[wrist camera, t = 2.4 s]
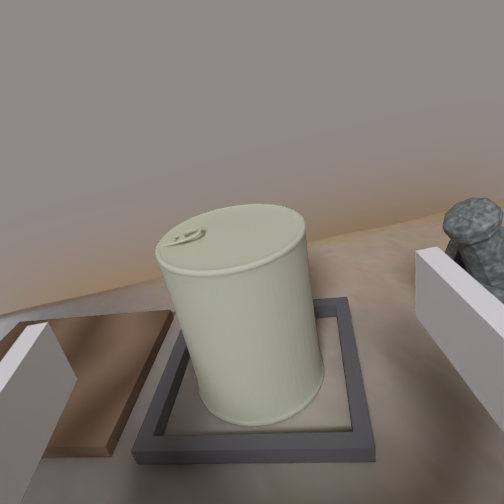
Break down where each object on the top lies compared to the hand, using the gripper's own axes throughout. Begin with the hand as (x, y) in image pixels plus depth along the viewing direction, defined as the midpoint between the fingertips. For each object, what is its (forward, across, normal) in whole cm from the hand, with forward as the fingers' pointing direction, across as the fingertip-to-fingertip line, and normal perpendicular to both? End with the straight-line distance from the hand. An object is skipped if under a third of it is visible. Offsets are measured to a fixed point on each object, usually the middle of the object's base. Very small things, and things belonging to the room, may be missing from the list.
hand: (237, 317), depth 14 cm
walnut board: (+14, -17, -12) cm, 25 cm away
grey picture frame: (+10, 0, -12) cm, 16 cm away
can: (+10, 0, -13) cm, 16 cm away
